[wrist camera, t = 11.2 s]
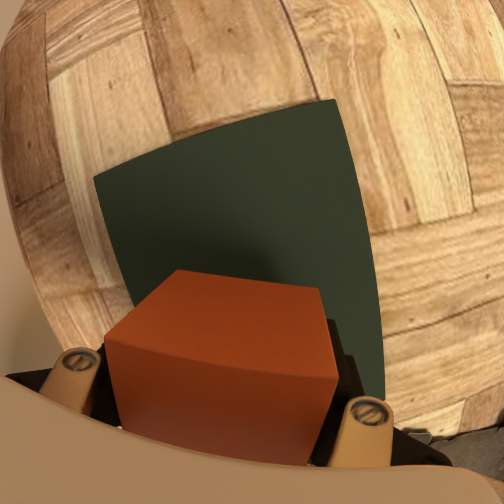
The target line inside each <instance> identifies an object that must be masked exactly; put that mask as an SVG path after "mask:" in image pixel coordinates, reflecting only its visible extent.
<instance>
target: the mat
mask: <svg viewBox="0 0 504 504" xmlns="http://www.w3.org/2000/svg"><path fill="white" fill-rule="evenodd" d="M93 180H94V184H95V188H96V192H97V196H98V199H99V203H100V207H101V210H102V214H103V217H104V221H105V224H106V227H107V231H108V234H109V237H110V240H111V243H112V246H113V249H114V252H115V255H116V258H117V261H118V264H119V267H120V270H121V273H122V276H123V278H124V281H125V284H126V286H127V289H128V292H129V294H130V297H131V300H132V302H133V305H134V307H136V306H137V305H138V304H139V303H140V302H142V301H143V300H144V299H145V298H146V297H147V296H148V295H149V294H150V293H151V292H153V291H154V290H155V289H156V288H157V287H158V286H159V285H160V284H162V283H163V282H164V281H165V280H166V279H167V278H168V277H169V276H171V275H172V274H173V273H174V272H175V271H176V270H178V269H179V270H186V271H192V272H199V273H206V274H213V275H220V276H227V277H235V278H242V279H250V280H257V281H265V282H272V283H280V284H288V285H296V286H304V287H313V288H318V289H319V292H320V297H321V301H322V305H323V309H324V313H325V317H326V319H334V320H335V323H336V326H337V330H338V333H339V337H340V340H341V344H342V348H343V351H344V354H347V355H353V357H354V359H355V363H356V366H357V369H358V372H359V376H360V379H361V383H362V386H363V389H364V393H365V396H370V397H375V398H378V399H380V400H382V401H384V400H385V371H384V353H383V339H382V327H381V316H380V307H379V298H378V290H377V282H376V275H375V268H374V262H373V255H372V249H371V243H370V238H369V232H368V227H367V221H366V216H365V211H364V206H363V202H362V197H361V192H360V188H359V184H358V179H357V175H356V171H355V167H354V163H353V159H352V155H351V151H350V148H349V144H348V140H347V137H346V133H345V130H344V126H343V123H342V119H341V116H340V113H339V110H338V106H337V103H336V100H335V99H330V100H325V101H320V102H315V103H310V104H306V105H301V106H297V107H292V108H288V109H284V110H280V111H276V112H272V113H268V114H264V115H260V116H257V117H253V118H249V119H246V120H242V121H239V122H236V123H232V124H229V125H226V126H222V127H219V128H216V129H213V130H210V131H207V132H204V133H201V134H198V135H195V136H192V137H189V138H186V139H184V140H181V141H178V142H175V143H173V144H170V145H167V146H165V147H162V148H159V149H157V150H154V151H152V152H149V153H147V154H144V155H142V156H139V157H137V158H135V159H132V160H130V161H128V162H125V163H123V164H121V165H118V166H116V167H114V168H112V169H109V170H107V171H105V172H103V173H101V174H99V175H97V176H94V177H93Z"/></svg>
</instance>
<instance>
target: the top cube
mask: <svg viewBox="0 0 504 504" xmlns="http://www.w3.org/2000/svg"><path fill="white" fill-rule="evenodd" d="M104 344H105V350H106V356H107V362H108V367H109V373H110V378H111V383H112V388H113V392H114V397H115V401H116V405H117V410H118V414H119V418H120V421H121V425H122V429H123V430H125V431H128V432H131V433H134V434H137V435H140V436H143V437H146V438H149V439H153V440H156V441H159V442H163V443H166V444H170V445H174V446H178V447H182V448H186V449H190V450H194V451H199V452H203V453H208V454H213V455H218V456H224V457H229V458H235V459H241V460H248V461H255V462H263V463H272V464H282V465H294V466H306V465H307V463H308V461H309V458H310V456H311V454H312V451H313V449H314V446H315V444H316V441H317V439H318V436H319V434H320V431H321V428H322V426H323V423H324V420H325V418H326V415H327V412H328V409H329V406H330V404H331V401H332V398H333V395H334V392H335V389H336V386H337V383H338V380H339V376H338V371H337V366H336V362H335V357H334V352H333V348H332V343H331V339H330V334H329V330H328V326H327V321H326V317H325V313H324V309H323V305H322V301H321V297H320V292H319V289H318V288H313V287H304V286H296V285H288V284H280V283H272V282H265V281H257V280H250V279H242V278H235V277H227V276H220V275H213V274H206V273H199V272H192V271H186V270H179V269H178V270H176V271H175V272H174V273H173V274H172V275H171V276H169V277H168V278H167V279H166V280H165V281H164V282H163V283H162V284H160V285H159V286H158V287H157V288H156V289H155V290H154V291H153V292H151V293H150V294H149V295H148V296H147V297H146V298H145V299H144V300H143V301H142V302H140V303H139V304H138V305H137V306H136V307H135V308H134V309H133V310H132V311H131V312H129V313H128V314H127V315H126V316H125V317H124V318H123V319H122V320H121V321H120V322H119V323H117V324H116V325H115V326H114V327H113V328H112V329H111V330H110V331H109V332H108V333H107V334H106V335H105V336H104Z"/></svg>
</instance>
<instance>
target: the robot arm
mask: <svg viewBox="0 0 504 504" xmlns="http://www.w3.org/2000/svg"><path fill="white" fill-rule="evenodd" d="M326 321H327V326H328V330H329V334H330V339H331V343H332V348H333V352H334V357H335V362H336V366H337V371H338V376H339V380H338V383H337V386H336V389H335V392H334V395H333V398H332V401H331V404H330V406H329V409H328V412H327V415H326V418H325V420H324V423H323V426H322V428H321V431H320V434H319V436H318V439H317V441H316V444H315V446H314V449H313V451H312V454H311V456H310V458H309V461H308V463H313V464H314V465H315V466H317V467H310V466H294V465H282V464H272V463H263V462H255V461H248V460H241V459H235V458H229V457H224V456H218V455H213V454H208V453H203V452H199V451H194V450H190V449H186V448H182V447H178V446H174V445H170V444H166V443H163V442H159V441H156V440H153V439H149V438H146V437H143V436H140V435H137V434H134V433H131V432H128V431H125V430H122V429H119V428H117V427H118V426H121V427H122V425H121V421H120V418H119V414H118V410H117V405H116V401H115V397H114V392H113V388H112V383H111V378H110V373H109V367H108V362H107V356H106V350H105V344H104V343H103V344H102V346H101V347H100V348H99V349H98V350H97V351H94V350H92V349H89V348H84V347H78V348H72V349H69V350H67V351H65V352H64V353H62V354H61V356H60V357H59V358H58V360H57V362H56V363H55V365H54V367H53V368H50V369H44V370H37V371H29V372H21V373H14V374H8V375H6V376H3V375H0V504H504V482H502V481H499V480H496V479H493V478H490V477H487V476H484V475H481V474H478V473H476V472H473V471H470V470H467V469H464V468H462V467H459V468H457V467H453V465H452V462H451V461H450V459H449V458H448V457H447V456H446V455H444V454H443V453H441V452H439V451H437V450H435V449H433V448H432V447H430V446H428V445H426V444H424V443H422V442H420V441H418V440H417V439H415V438H413V437H411V436H409V435H408V434H406V433H404V432H402V431H400V430H399V429H397V428H395V427H393V422H394V415H393V411H392V409H391V408H390V406H389V405H388V404H387V403H385V402H384V401H382V400H380V399H378V398H375V397H370V396H365V393H364V389H363V386H362V383H361V379H360V376H359V372H358V369H357V366H356V363H355V359H354V357H353V355H347V354H344V351H343V348H342V344H341V340H340V337H339V333H338V330H337V326H336V323H335V320H334V319H326Z"/></svg>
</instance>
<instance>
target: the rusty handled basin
mask: <svg viewBox="0 0 504 504" xmlns="http://www.w3.org/2000/svg"><path fill="white" fill-rule="evenodd" d="M497 429H498V427H495V428H490V429H486V430H480V431H479V430H475V431H471V432H468V433H465V434H462V435H460V436H457V437H455V438H454V439H452V440H450V441H447V440H441V441H437V442H435V443H433V444H431V445H429V443H430V441H431V439H432V435H431V433H430V432H427V433H420V434H419V433H411V432H410V433H409V434H408V435H409V436H411V437H413V438H415V439H417V440H418V441H420V442H422V443H424V444H426V445H429V446H430V447H432V448H433V449H435V450H437V451H439V452H441V453H443V454H444V455H446V456H447V457H448V458H449V459H450V461H451V462H452V465H453V467H457V468H459V467H462V468H464V469H467V470H470V471H473V472H476V473H478V474H481V475H484V476H487V477H490V478H493V479H496V480H499V481H502V482H504V460H503V458H504V426H503V427H502V428H500V429H499V430H498V431H497ZM496 431H497V432H496Z"/></svg>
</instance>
